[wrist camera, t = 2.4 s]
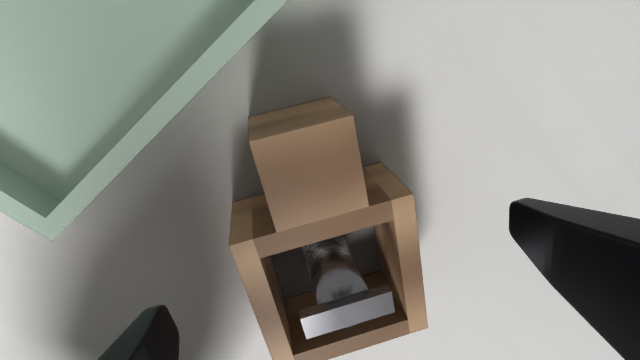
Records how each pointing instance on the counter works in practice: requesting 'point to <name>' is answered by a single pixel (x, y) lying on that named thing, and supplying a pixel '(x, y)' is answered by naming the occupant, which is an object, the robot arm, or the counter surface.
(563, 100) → the counter surface
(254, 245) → the wooden frame stand
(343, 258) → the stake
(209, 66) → the tray
